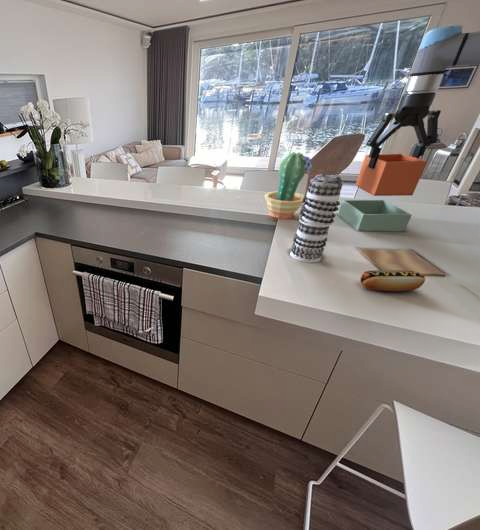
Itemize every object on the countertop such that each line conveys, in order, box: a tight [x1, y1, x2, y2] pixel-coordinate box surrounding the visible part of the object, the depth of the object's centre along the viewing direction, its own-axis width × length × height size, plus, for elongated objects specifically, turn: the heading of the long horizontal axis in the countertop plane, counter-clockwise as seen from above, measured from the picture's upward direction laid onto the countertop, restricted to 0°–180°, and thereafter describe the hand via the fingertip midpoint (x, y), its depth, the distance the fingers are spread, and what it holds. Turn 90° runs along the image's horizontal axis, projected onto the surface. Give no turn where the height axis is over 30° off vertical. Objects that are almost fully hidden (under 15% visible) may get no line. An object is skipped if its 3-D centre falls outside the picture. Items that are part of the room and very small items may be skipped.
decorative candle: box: [289, 173, 346, 264], centre depth 85 cm, size 9×9×25 cm
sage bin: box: [337, 199, 413, 232], centre depth 106 cm, size 14×16×7 cm
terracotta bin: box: [355, 153, 428, 197], centre depth 99 cm, size 11×13×11 cm
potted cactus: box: [264, 151, 313, 220], centre depth 115 cm, size 15×15×25 cm
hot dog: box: [359, 269, 426, 292], centre depth 72 cm, size 5×13×5 cm, turn 82°
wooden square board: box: [358, 248, 446, 277], centre depth 84 cm, size 14×14×1 cm
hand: (390, 167), depth 97 cm, fingers closed on terracotta bin, 11 cm apart
